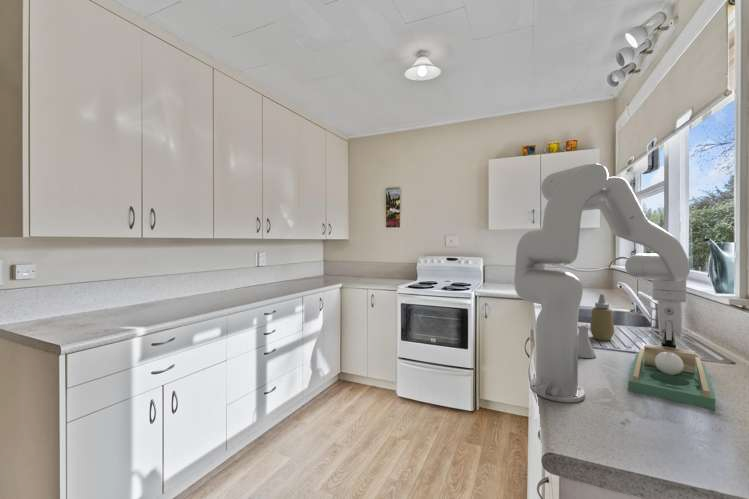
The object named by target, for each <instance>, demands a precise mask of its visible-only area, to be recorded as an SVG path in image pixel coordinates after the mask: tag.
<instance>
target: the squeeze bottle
mask: <svg viewBox="0 0 749 499" xmlns="http://www.w3.org/2000/svg"><path fill="white" fill-rule="evenodd" d="M589 326H590V327H589V330H590V332H591V335H592V337H593V339H595V340H598V341H603V342H604V341H611V340H612V339H613V336H614V334H615V328H614V327H615V325H614V317H613V311H612V309H610V304H609V303H607V301H606V298H605V294H604V293H599V297H598V302H594V307H593V308H592V309H591V318H590V325H589Z"/></svg>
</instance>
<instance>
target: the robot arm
mask: <svg viewBox="0 0 749 499" xmlns="http://www.w3.org/2000/svg"><path fill="white" fill-rule="evenodd" d="M540 187H541V188H540V189H541V194H542V195H543V197H544V198H545V199H546V200H547V203H546V205H545V208H544V212H543V218H542V219H543V220H542V228H541V229H534V230H529V231H527V232H525V233H524V234H523V235H522V236H521V237H520V239H519V240H518V243H517V246H516V254H515V264H514V265H515V268H514V278H513V279H514V282H513V284H514V289H515V290H514V291H515V292H516V295H517V296H518V297H519V298H520V299H521V300H523V301H525V302H528V303H529V302H530V303H533V304H538V305H541V306H542V307H541V309H540V311H539V312H538V316H536V321H535V335H536V336H535V355H536V356H535V364H536V365H535V366H536V367H535V371H536V372H535V373H536V374H535V378H534V379H532V380H531V381H530V382H529V388H530V390H531V391H532V392H533V393H534V394H536V395H537V396H539V397H542V398H543V399H547V400H550V401H554V402H558V403H559V402H560V403H578V402H581V401H583V400H584V399H585V398H586V392H585V390H584V389H583V388H582V387H580V386H579V383H578V382H579V378H578V377H579V376H578V375H579V368H578V367H579V364H578V363H579V357H578V333H579V328H578V326H579V312H580V306H581V303H582V302H581V301H582V297H583V284H582V282H581V281H580V279H579V278H578V277H577V276H576V275H574V274H573V273H571V272H569V271H564V270H558V269H557V270H556V269H545V268H546V266H549V265H550V266H551V265H552V266H567V265H571V264H572V263H574V262H575V261H576V259H577V257H578V254H579V248H580V247H579V245H580V232H581V231H580V230H581V220H582V215H583V214H582V213H583V211H592V210H599V211H600V212H601V214H602V215H603V217H604V220H605V221H606V223H607V225H608V226H609V227H608V228H610V230H611V233H612V234H613V235H615V236H616V237H619V238H621V239H624V240H625V241H628V242H632V243H635V244H638V245H641V246H643V247H645V248H648V249H649V250H651V251H653V252H654V253H636V254H633V255H631V256H629V257H628V258H627V259H626V261H625V264H624V268H625V271H626V273H627V274H628V275H629V276H631V277H633V278H634V279H639V280H650V281H652V290H651V291H652V300H654V301H657V322H658V331H659V334H660V335H662V342H661V346H664V347H671V348H677V344H676V336H678V337H679V338H681V337H682V336H683V310H682V309H683V307H682V303H687V278H688V276H689V274H690V271H691V266H690V260H689V258H688V255H687V253H686V252H685V250H684V247H683V246H682V244H681V242H680V241H679V240H678V239H677V238H676V237H675V236H673V235H672V234H671V233H669V232H668V231H667V230H665V229H664V228H662V227H660V226H659V225H657V224H655V223H654V222H652V221H650V220H649V219H648V218H647V216H646V214H645V212H644V211H643V208H642V206H641V204H640V203H639V200H638V198H637V197H636V195H635V192H634V191H633V189H632V187H631V185H630V184H629V182H628V181H627V180H626V179H625V178H623V177H620V176H611V177H609V171H608V169H607V167H606V166H605V165H603V164H601V163H588V164H583V165H579V166H574V167H572V168H567V169H563V170H560V171H556V172H553V173H551V174H548V175H547V176H545V178H544V179H543V180H542V182H541V186H540Z"/></svg>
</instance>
